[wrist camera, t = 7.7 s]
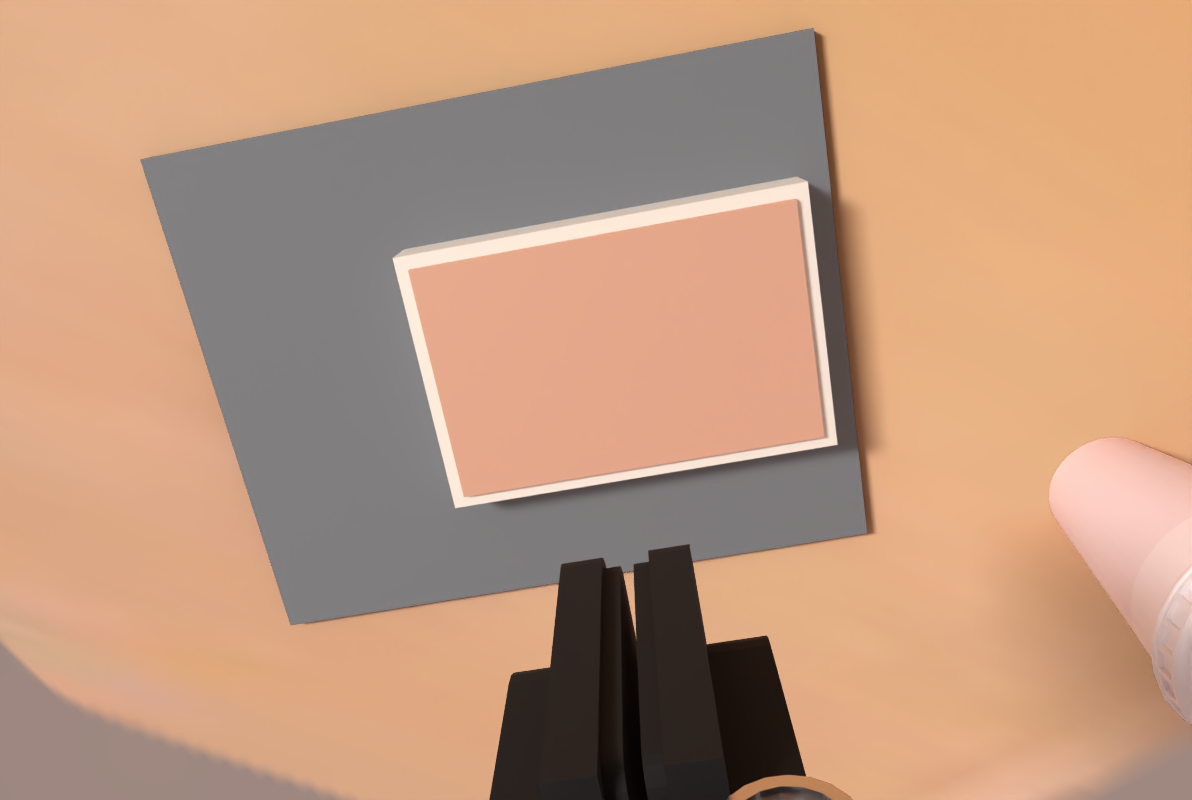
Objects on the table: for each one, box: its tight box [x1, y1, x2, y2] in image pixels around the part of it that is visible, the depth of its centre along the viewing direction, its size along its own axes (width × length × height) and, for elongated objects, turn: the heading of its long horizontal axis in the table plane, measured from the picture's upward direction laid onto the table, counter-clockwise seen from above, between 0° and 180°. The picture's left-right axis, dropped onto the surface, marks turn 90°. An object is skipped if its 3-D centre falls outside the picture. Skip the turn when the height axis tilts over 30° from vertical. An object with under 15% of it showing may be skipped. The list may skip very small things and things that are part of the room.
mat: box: [140, 28, 867, 625], centre depth 30 cm, size 20×16×1 cm
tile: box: [393, 177, 838, 508], centre depth 29 cm, size 2×8×12 cm
